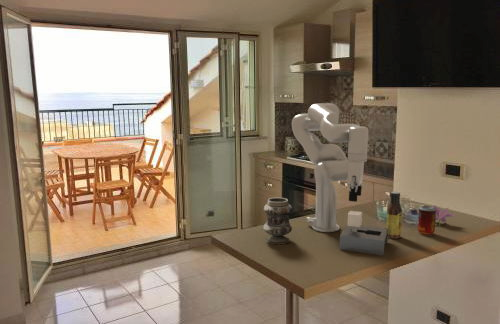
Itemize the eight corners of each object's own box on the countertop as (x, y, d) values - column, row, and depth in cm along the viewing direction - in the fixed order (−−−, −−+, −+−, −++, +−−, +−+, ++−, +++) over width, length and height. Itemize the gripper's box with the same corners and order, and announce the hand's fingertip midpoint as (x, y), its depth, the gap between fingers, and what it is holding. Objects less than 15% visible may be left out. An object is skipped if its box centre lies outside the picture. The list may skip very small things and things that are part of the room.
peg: (346, 245, 178) (347, 213, 176) (348, 241, 183) (350, 210, 181) (358, 247, 176) (360, 215, 174) (360, 243, 181) (362, 212, 179)
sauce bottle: (401, 239, 185) (404, 194, 181) (386, 238, 186) (388, 194, 183) (399, 234, 191) (402, 191, 188) (384, 233, 192) (387, 190, 189)
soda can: (421, 230, 197) (423, 204, 195) (437, 233, 192) (439, 207, 190) (414, 233, 193) (416, 207, 191) (429, 237, 188) (431, 210, 185)
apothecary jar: (285, 234, 192) (285, 195, 189) (296, 243, 181) (297, 201, 178) (259, 237, 188) (259, 197, 185) (269, 246, 177) (269, 204, 174)
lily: (458, 228, 203) (456, 208, 206) (447, 224, 195) (446, 203, 198) (433, 231, 211) (431, 211, 214) (422, 226, 203) (420, 206, 207)
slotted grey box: (339, 249, 174) (340, 235, 173) (347, 236, 188) (347, 223, 187) (383, 255, 167) (384, 240, 166) (387, 242, 182) (388, 228, 181)
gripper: (351, 153, 183) (349, 192, 186) (343, 159, 167) (341, 202, 170) (369, 154, 180) (367, 194, 183) (363, 161, 164) (360, 204, 167)
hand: (354, 198), depth 177 cm, fingers open, 9 cm apart
